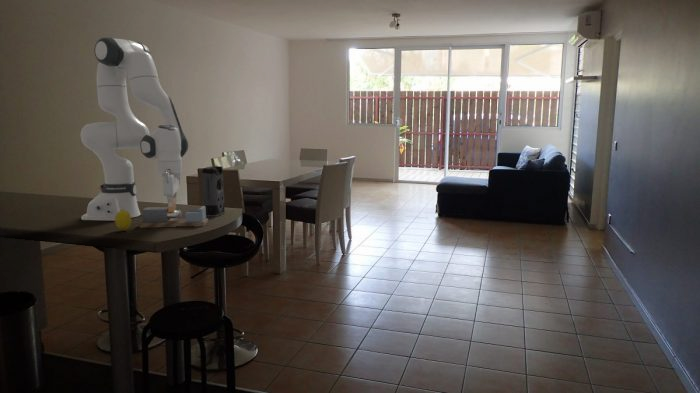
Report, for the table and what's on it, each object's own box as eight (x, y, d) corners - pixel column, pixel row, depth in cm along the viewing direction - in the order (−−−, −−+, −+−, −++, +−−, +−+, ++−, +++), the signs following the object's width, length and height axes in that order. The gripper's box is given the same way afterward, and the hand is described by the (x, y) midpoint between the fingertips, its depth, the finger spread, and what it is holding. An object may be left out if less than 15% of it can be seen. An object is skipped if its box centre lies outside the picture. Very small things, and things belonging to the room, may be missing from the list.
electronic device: (216, 217, 220) (214, 168, 217) (203, 216, 221) (200, 168, 218) (226, 212, 229) (223, 166, 226) (213, 212, 230) (210, 166, 227)
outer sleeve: (143, 222, 204) (142, 209, 203) (147, 219, 208) (146, 207, 208) (167, 222, 204) (166, 209, 203) (170, 219, 209) (170, 206, 208)
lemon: (118, 229, 200) (117, 208, 198) (134, 228, 200) (132, 208, 199) (113, 232, 194) (111, 211, 193) (129, 232, 195) (127, 210, 193)
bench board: (139, 227, 202) (139, 223, 202) (146, 222, 210) (145, 219, 210) (203, 226, 204) (203, 222, 203) (208, 221, 212) (207, 218, 211)
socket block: (185, 222, 204) (184, 209, 203) (189, 218, 210) (188, 206, 209) (202, 221, 204) (202, 209, 204) (206, 218, 210) (205, 206, 209)
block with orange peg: (142, 219, 204) (140, 199, 202) (145, 217, 208) (143, 197, 206) (179, 219, 205) (178, 198, 203) (182, 217, 209) (180, 196, 207)
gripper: (175, 170, 194) (178, 208, 196) (181, 165, 214) (183, 199, 216) (157, 171, 193) (160, 209, 195) (165, 165, 212) (167, 200, 215)
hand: (172, 204), depth 205 cm, fingers open, 8 cm apart
